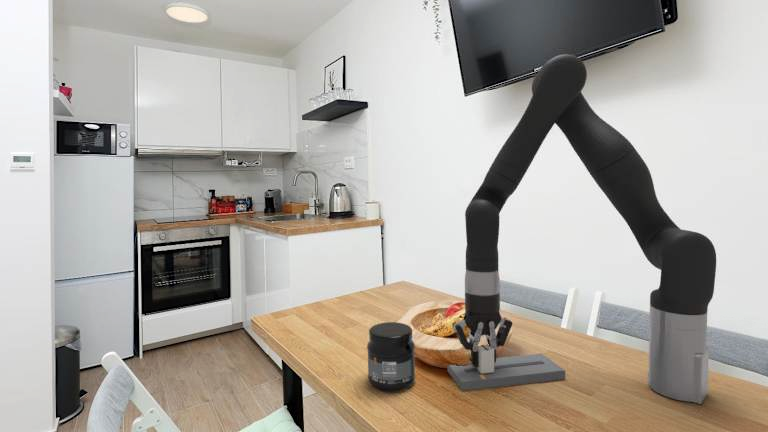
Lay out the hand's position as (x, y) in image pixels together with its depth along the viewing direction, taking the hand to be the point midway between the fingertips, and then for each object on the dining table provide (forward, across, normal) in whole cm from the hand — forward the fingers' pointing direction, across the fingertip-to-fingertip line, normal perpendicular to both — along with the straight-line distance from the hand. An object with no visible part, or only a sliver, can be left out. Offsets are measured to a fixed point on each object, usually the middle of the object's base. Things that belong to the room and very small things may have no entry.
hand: (482, 364), depth 85 cm
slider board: (+3, -5, 0) cm, 6 cm away
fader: (+1, 0, 0) cm, 1 cm away
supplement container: (+3, +20, -2) cm, 21 cm away
